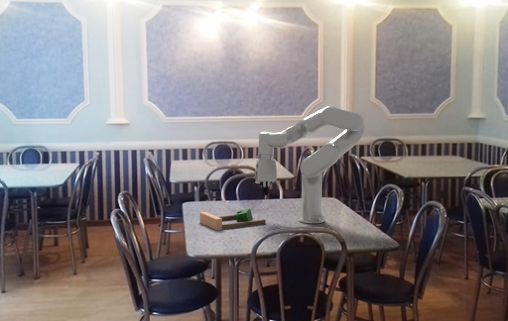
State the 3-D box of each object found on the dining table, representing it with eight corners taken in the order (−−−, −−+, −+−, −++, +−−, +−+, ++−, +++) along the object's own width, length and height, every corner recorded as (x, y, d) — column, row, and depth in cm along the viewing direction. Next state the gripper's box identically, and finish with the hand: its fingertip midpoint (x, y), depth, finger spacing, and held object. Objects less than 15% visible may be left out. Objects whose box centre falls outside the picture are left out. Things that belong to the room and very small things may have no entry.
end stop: (222, 229, 277) (222, 218, 276) (216, 230, 275) (216, 219, 275) (205, 222, 293) (205, 211, 292) (199, 222, 291) (199, 212, 291)
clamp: (242, 229, 296) (239, 211, 299) (254, 227, 295) (251, 209, 298) (235, 225, 285) (232, 206, 288) (247, 222, 284) (244, 203, 287)
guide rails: (265, 224, 288) (265, 219, 288) (222, 229, 277) (222, 225, 277) (247, 217, 304) (247, 213, 303) (206, 221, 293) (206, 217, 292)
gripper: (256, 158, 288) (255, 197, 290) (283, 157, 295) (282, 195, 298) (248, 157, 295) (247, 194, 297) (275, 156, 302) (274, 192, 304)
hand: (265, 194), depth 297 cm, fingers closed
